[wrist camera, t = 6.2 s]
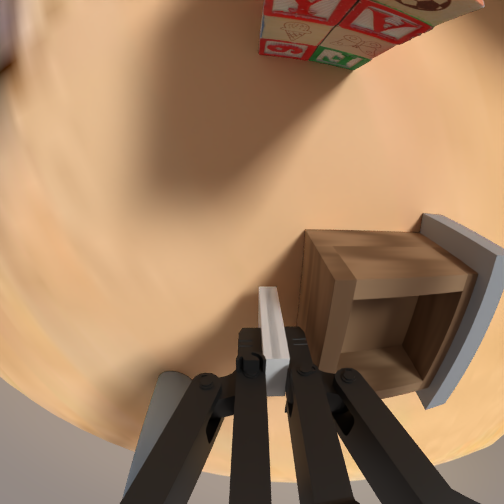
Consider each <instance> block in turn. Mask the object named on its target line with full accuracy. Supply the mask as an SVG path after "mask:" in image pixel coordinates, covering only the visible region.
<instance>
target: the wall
mask: <svg viewBox="0 0 504 504" xmlns="http://www.w3.org/2000/svg"><path fill="white" fill-rule="evenodd" d="M420 233H421V234H423V235H424V236H426V237H427V238H429V239H430V240H432V241H433V242H435V243H436V244H438V245H439V246H441V247H442V248H444V249H445V250H447V251H448V252H449V253H451V254H452V255H454V256H455V257H457V258H458V259H459V260H461V261H462V262H464V263H465V264H466V265H468V266H469V267H470V268H472V269H473V270H474V271H476V272H477V273H478V277H477V281H476V284H475V287H474V290H473V293H472V295H471V298H470V301H469V304H468V306H467V309H466V312H465V314H464V317H463V319H462V322H461V324H460V326H459V329H458V331H457V333H456V335H455V338H454V340H453V342H452V344H451V346H450V348H449V350H448V352H447V354H446V356H445V358H444V360H443V362H442V364H441V366H440V368H439V370H438V372H437V373H436V375H435V377H434V379H433V381H432V382H431V384H430V386H429V387H428V388H425V389H422V390H418V391H416V393H417V395H418V397H419V399H420V401H421V402H422V404H423V406H424V408H425V410H427V409H430V408H433V407H436V406H439V405H441V404H444V403H445V402H446V401H447V399H448V398H449V396H450V395H451V393H452V392H453V390H454V389H455V387H456V386H457V384H458V383H459V381H460V379H461V378H462V376H463V374H464V373H465V371H466V369H467V368H468V366H469V364H470V362H471V360H472V359H473V357H474V355H475V353H476V351H477V349H478V347H479V345H480V343H481V341H482V339H483V337H484V335H485V333H486V331H487V329H488V327H489V324H490V322H491V320H492V318H493V315H494V313H495V310H496V308H497V305H498V303H499V300H500V298H501V295H502V292H503V289H504V249H503V248H502V247H500V246H498V245H497V244H495V243H493V242H492V241H490V240H488V239H486V238H485V237H483V236H481V235H479V234H478V233H476V232H474V231H472V230H470V229H468V228H467V227H465V226H463V225H461V224H459V223H457V222H455V221H453V220H451V219H449V218H447V217H445V216H443V215H437V214H426V213H423V216H422V222H421V228H420Z"/></svg>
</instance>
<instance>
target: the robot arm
mask: <svg viewBox="0 0 504 504" xmlns="http://www.w3.org/2000/svg"><path fill="white" fill-rule="evenodd" d="M285 391H286V398H287V400H286V407H285V413H286V412H287V414H288V421H289V428H290V435H291V442H292V449H293V456H294V463H295V470H296V478H297V485H298V492H299V500H300V504H360V503H358V502H357V501H355V499H354V497H353V493H352V489H351V485H350V481H349V477H348V473H347V469H346V465H345V461H344V457H343V454H342V450H341V446H340V442H339V439H338V435H339V436H340V438H341V440H342V441H343V443H344V444H345V446H346V448H347V449H348V451H349V453H350V454H351V456H352V457H353V459H354V461H355V462H356V464H357V465H358V467H359V469H360V470H361V472H362V473H363V475H364V477H365V478H366V480H367V481H368V483H369V485H370V486H371V487H372V489H373V491H374V492H375V494H376V496H377V497H378V499H379V500H380V502H381V503H382V504H480V503H478V502H476V501H474V500H472V499H470V498H468V497H465V496H464V495H462V494H460V493H458V492H456V491H454V490H453V489H451V488H450V486H449V485H448V484H447V482H446V481H445V480H444V479H443V477H442V476H441V475H440V474H439V472H438V471H437V470H436V468H435V467H434V466H433V464H432V463H431V462H430V461H429V459H428V458H427V457H426V456H425V454H424V453H423V452H422V450H421V449H420V448H419V447H418V445H417V444H416V443H415V442H414V440H413V439H412V438H411V436H410V435H409V434H408V433H407V431H406V430H405V429H404V428H403V426H402V425H401V424H400V423H399V421H398V420H397V419H396V418H395V416H394V415H393V414H392V412H391V411H390V410H389V409H388V407H387V406H386V405H385V404H384V402H383V401H382V400H381V399H380V397H379V396H378V395H377V394H376V392H375V391H374V390H373V389H372V387H371V386H370V385H369V384H368V382H367V381H366V380H365V379H364V377H363V376H362V375H361V374H360V373H359V372H358V371H357V370H355V369H353V368H341V369H340V370H338V371H337V372H336V373H335V374H334V373H327V372H323V371H321V370H319V369H318V367H317V366H316V365H315V364H314V363H313V362H312V358H311V354H310V351H309V347H308V343H307V340H306V336H305V332H304V331H303V330H302V329H301V328H300V327H299V326H298V327H284V324H283V318H282V313H281V308H280V303H279V297H278V292H277V287H259V305H258V328H242V330H241V331H240V333H239V339H238V356H237V358H236V370H235V371H234V372H233V373H232V374H230V375H228V376H225V377H220V378H219V377H217V376H216V375H214V374H212V373H203V374H199V375H197V376H196V377H195V378H194V379H193V380H192V382H191V383H190V385H189V387H188V388H187V390H186V392H185V394H184V395H183V397H182V399H181V401H180V402H179V404H178V406H177V408H176V409H175V411H174V413H173V414H172V416H171V418H170V420H169V421H168V423H167V425H166V426H165V428H164V430H163V432H162V433H161V435H160V437H159V438H158V440H157V442H156V444H155V445H154V447H153V449H152V450H151V452H150V454H149V455H148V457H147V459H146V460H145V462H144V464H143V466H142V467H141V469H140V471H139V472H138V474H137V476H136V477H135V479H134V481H133V482H132V484H131V486H130V487H129V489H128V491H127V492H126V494H125V496H124V497H123V499H122V501H121V502H120V504H187V502H188V500H189V498H190V496H191V494H192V491H193V489H194V487H195V485H196V483H197V480H198V478H199V476H200V474H201V471H202V469H203V467H204V465H205V462H206V460H207V458H208V455H209V453H210V451H211V449H212V446H213V444H214V441H215V439H216V437H217V434H218V432H219V430H220V427H221V425H222V422H223V420H224V417H226V416H230V415H234V421H233V439H232V457H231V475H230V496H229V504H271V480H270V457H269V434H268V412H267V396H285ZM337 433H338V435H337Z"/></svg>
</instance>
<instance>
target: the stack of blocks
mask: <svg viewBox="0 0 504 504" xmlns="http://www.w3.org/2000/svg"><path fill="white" fill-rule="evenodd" d="M483 7H485V6H484V2H483V0H264V2H263V11H262V19H261V27H260V36H259V49H258V53H259V54H260V55H269V56H278V57H286V58H293V59H300V60H309V61H315V62H320V63H325V64H329V65H333V66H338V67H342V68H346V69H349V70H355V69H357V68H359V67H361V66H362V65H364V64H366V63H367V62H369V61H371V60H372V58H374V57H376V56H378V55H380V54H382V53H383V52H385V51H387V50H389V49H391V48H392V47H394V46H395V45H400V44H403V43H405V42H406V41H409V40H411V39H412V38H414V37H416V36H419V35H421V34H422V33H425V32H427V31H430V30H432V29H433V28H434V27H435V26H437V25H439V24H441V23H444V22H446V21H449V20H451V19H454V18H457V17H459V16H462V15H464V14H467V13H469V12H472V11H475V10H479V9H481V8H483Z"/></svg>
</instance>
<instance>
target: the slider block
mask: <svg viewBox="0 0 504 504" xmlns="http://www.w3.org/2000/svg"><path fill="white" fill-rule="evenodd" d="M477 277H478V273H477V272H476V271H474V270H473V269H472V268H470V267H469V266H468V265H466V264H465V263H464V262H462V261H461V260H459V259H458V258H457V257H455V256H454V255H452V254H451V253H449V252H448V251H447V250H445V249H444V248H442V247H441V246H439V245H438V244H436V243H435V242H433V241H432V240H430V239H429V238H427V237H426V236H424V235H423V234H421V233H415V232H389V231H356V230H308V229H305V240H304V253H303V265H302V277H301V288H300V298H299V307H298V317H297V326H296V327H298V326H299V327H300V328H301V329H302V330H303V331H304V332H305V336H306V340H307V343H308V347H309V351H310V354H311V358H312V362H313V363H314V364H315V365H316V366H317V367H318V369H319V370H321V371H323V372H327V373H334V374H335V373H336V372H337V371H338V370H340V369H341V368H353V369H355V370H357V371H358V372H359V373H360V374H361V375H362V376H363V377H364V379H365V380H366V381H367V382H368V384H369V385H370V386H371V387H372V389H373V390H374V391H375V392H376V394H377V395H378V396H379V397H380V399H384V398H389V397H393V396H398V395H402V394H406V393H410V392H414V391H418V390H422V389H425V388H428V387H429V386H430V384H431V382H432V381H433V379H434V377H435V375H436V373H437V372H438V370H439V368H440V366H441V364H442V362H443V360H444V358H445V356H446V354H447V352H448V350H449V348H450V346H451V344H452V342H453V340H454V338H455V335H456V333H457V331H458V329H459V326H460V324H461V322H462V319H463V317H464V314H465V312H466V309H467V306H468V304H469V301H470V298H471V295H472V293H473V290H474V287H475V284H476V281H477Z"/></svg>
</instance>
